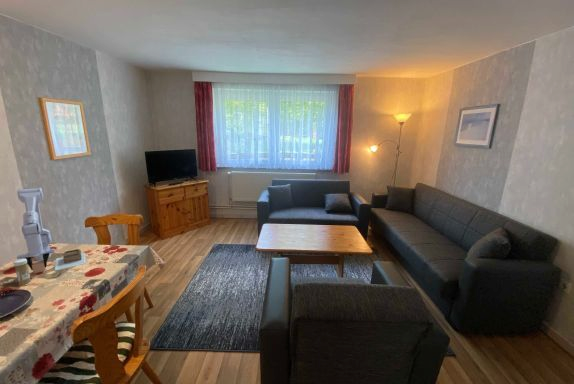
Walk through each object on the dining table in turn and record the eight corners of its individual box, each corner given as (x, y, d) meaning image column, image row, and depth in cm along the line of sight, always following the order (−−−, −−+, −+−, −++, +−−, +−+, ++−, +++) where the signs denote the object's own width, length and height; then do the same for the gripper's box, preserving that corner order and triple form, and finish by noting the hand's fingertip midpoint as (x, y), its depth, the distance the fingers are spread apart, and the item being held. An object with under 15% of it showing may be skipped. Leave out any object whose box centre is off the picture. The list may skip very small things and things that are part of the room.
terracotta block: (34, 269, 138) (32, 261, 137) (45, 267, 141) (44, 259, 140) (33, 273, 135) (31, 265, 134) (45, 270, 138) (43, 262, 137)
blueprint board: (56, 260, 153) (55, 258, 152) (85, 254, 162) (85, 252, 161) (54, 272, 140) (54, 270, 140) (86, 264, 149) (86, 263, 149)
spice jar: (30, 285, 128) (25, 261, 125) (17, 287, 126) (11, 263, 123) (32, 280, 132) (27, 257, 129) (20, 283, 129) (15, 259, 126)
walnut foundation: (64, 258, 154) (63, 251, 153) (81, 254, 159) (80, 248, 158) (64, 263, 148) (63, 256, 147) (81, 259, 153) (80, 253, 152)
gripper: (13, 251, 127) (19, 275, 130) (52, 244, 136) (56, 266, 139) (16, 246, 132) (21, 269, 136) (53, 239, 142) (57, 261, 145)
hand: (39, 267), depth 138 cm, fingers closed on terracotta block, 5 cm apart
